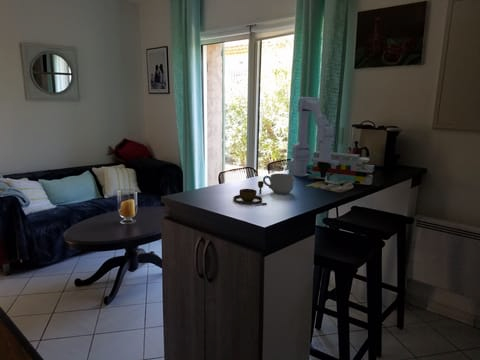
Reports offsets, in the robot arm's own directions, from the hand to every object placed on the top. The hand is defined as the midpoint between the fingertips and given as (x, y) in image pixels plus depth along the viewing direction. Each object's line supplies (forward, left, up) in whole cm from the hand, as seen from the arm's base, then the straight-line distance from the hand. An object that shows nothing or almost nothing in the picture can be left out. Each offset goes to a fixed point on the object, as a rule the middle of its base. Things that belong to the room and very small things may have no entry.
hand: (322, 177), depth 176 cm
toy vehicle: (+4, +15, -4) cm, 16 cm away
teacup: (-8, -29, -4) cm, 30 cm away
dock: (+4, 0, -5) cm, 6 cm away
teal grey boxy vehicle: (+7, -1, -3) cm, 7 cm away
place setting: (-8, -46, -5) cm, 47 cm away
